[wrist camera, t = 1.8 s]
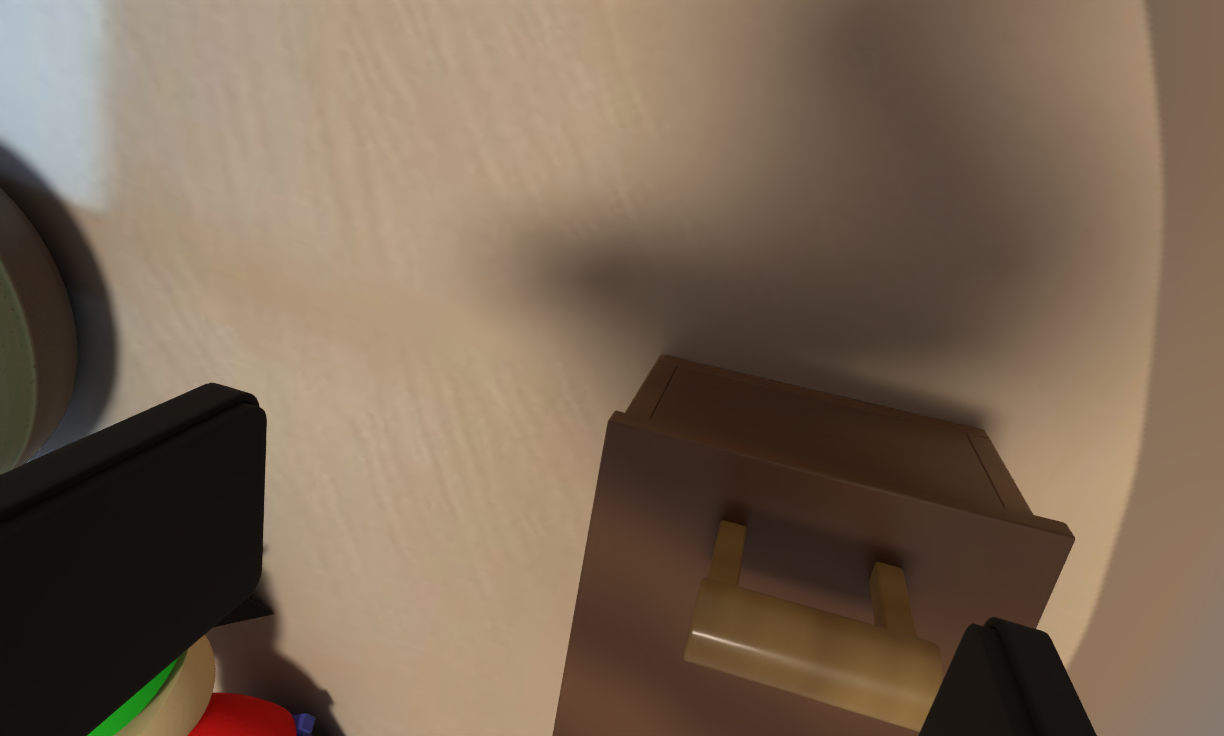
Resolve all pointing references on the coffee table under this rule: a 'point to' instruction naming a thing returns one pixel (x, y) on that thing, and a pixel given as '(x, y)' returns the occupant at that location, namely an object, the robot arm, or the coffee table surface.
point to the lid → (780, 591)
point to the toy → (202, 700)
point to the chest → (828, 430)
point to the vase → (31, 340)
